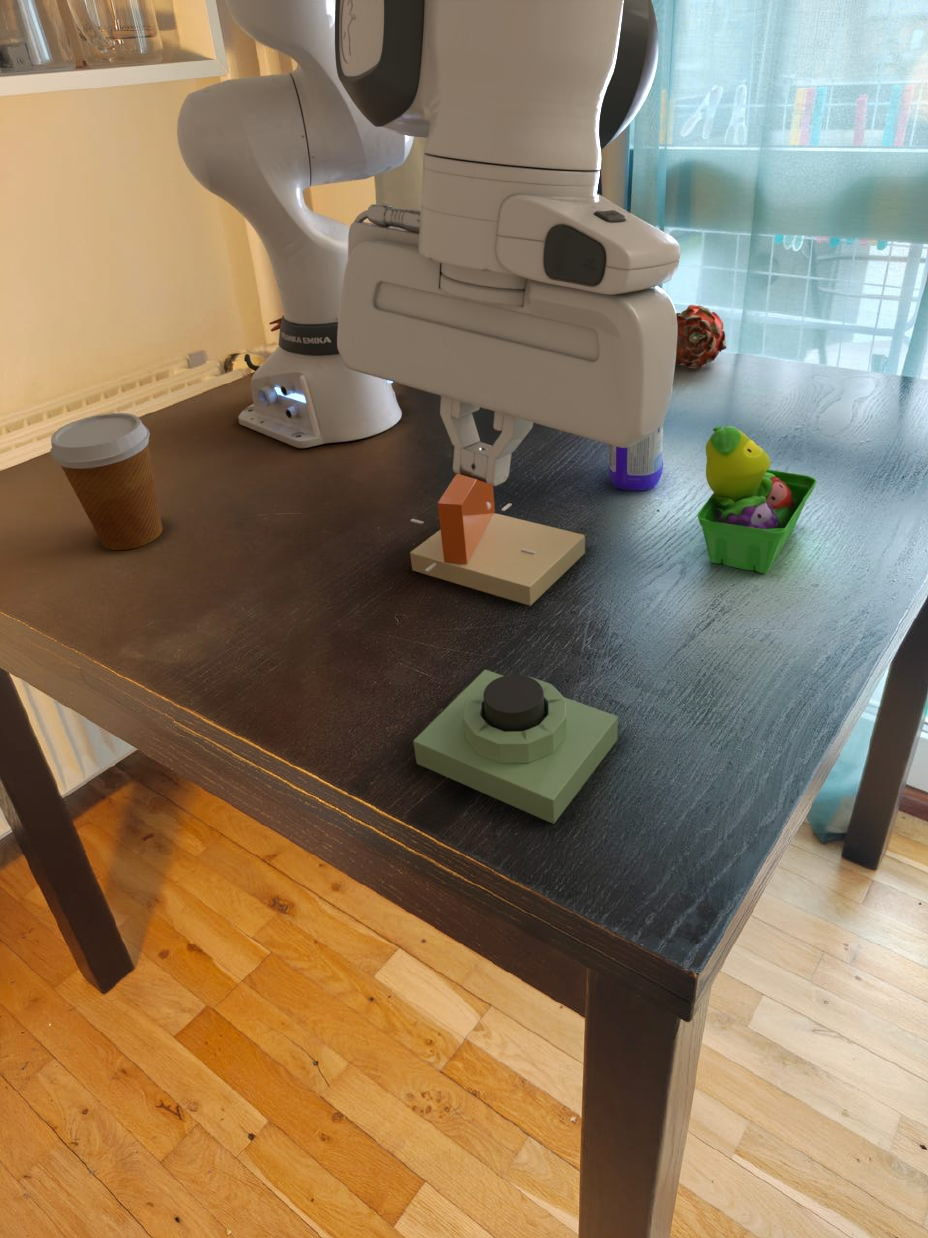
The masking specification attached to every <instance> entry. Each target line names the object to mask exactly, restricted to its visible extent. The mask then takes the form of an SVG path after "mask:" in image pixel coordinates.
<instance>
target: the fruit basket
mask: <svg viewBox="0 0 928 1238" xmlns="http://www.w3.org/2000/svg"><path fill="white" fill-rule="evenodd" d="M712 431H713V433H712V434H711V435H710V437H709V439H708V440H707V442H706V444H705V454H706V465H705V478H706V482H707V484H708V487H709V488H710V490H711V491H712V492H713V493H712V494H711V496H710V497H709V498H708V500H707V501H706V502H705V503H704V505H702V507H701V509H700V510H699V511H698V513H697V519H698V522H699V525H700V526H701V528H702V531H703V532H702V533H703V537H704V542H705V545H706V549H707V555H708V558H709V562H710V563H712V564H722V565H724V566H727V567H731V568H736V569H740V570H746V571H755V572H757V573H759V574H764V575H765V574H767V573H768V572H769V571H770V569H771V567H772V566H773V563H774V561H775V560H776V559H777V557H778V556H779V554H780V552H781V550H782V548H783V547H784V546H785V544H786V542H787V540H788V539H789V536H790V535H791V534H792V533H793V531H794V529H795V528H796V525H797V522H798V520H799V519H800V516H801V514H802V511H803V509H804V507H805V505H806V503H807V500H808V499H809V497H810V496H811V494H812V492H813V491H814V489H815V486H816V484H817V482H818V480H817V479H816V478H815V477H813V476H811V475H807V474H799V473H795V472H794V473H793V472H789V471H788V472H787V471H781V470H775V469H770V468H771V460H770V457H769V455H768V454H767V452H766V451H765V450H764V449H763V448H762V447H761V446H759V444H758V443H756V442H755V441H754V440H753V439H751V438H749V437H748V436H747V435H746V434H745V433H744V432H743V431H741V430H739V429H738V428H737V427H735V426H733V425H726V426H723V427H722V426H721V425H717V426H715V427H714V428H712Z"/></svg>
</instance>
